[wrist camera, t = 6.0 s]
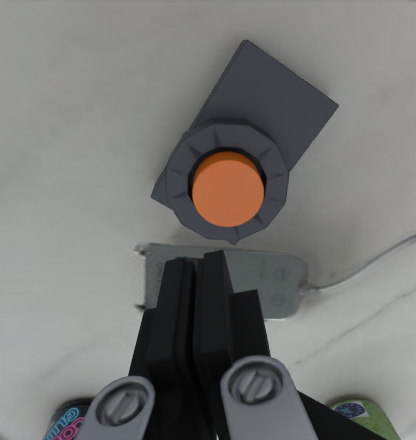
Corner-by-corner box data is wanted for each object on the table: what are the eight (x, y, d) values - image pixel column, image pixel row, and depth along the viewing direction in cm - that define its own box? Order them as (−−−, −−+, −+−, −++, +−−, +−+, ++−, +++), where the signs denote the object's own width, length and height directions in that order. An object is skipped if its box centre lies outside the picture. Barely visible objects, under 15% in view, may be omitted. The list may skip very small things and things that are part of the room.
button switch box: (239, 36, 22) (246, 35, 18) (331, 102, 23) (354, 113, 19) (151, 183, 25) (141, 207, 21) (235, 232, 27) (240, 262, 23)
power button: (216, 137, 20) (217, 145, 19) (273, 173, 21) (278, 184, 19) (180, 193, 22) (178, 205, 20) (235, 225, 22) (237, 239, 21)
